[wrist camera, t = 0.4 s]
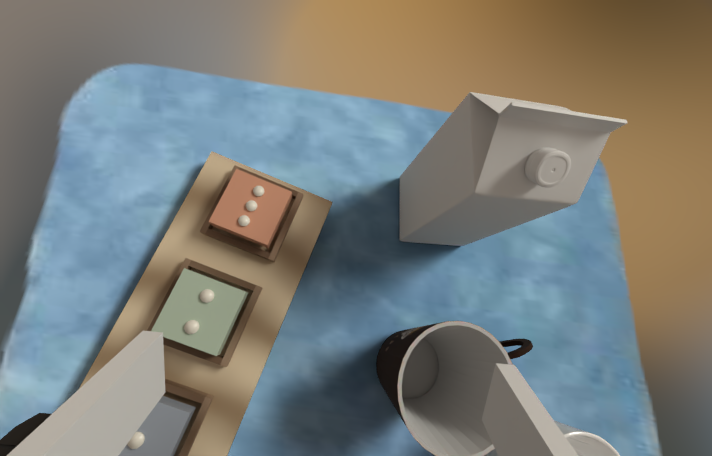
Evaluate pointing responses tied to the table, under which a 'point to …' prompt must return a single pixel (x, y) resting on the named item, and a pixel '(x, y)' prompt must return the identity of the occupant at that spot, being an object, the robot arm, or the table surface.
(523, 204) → the milk carton
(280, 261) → the keypad board
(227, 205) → the key three dots
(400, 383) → the coffee mug
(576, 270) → the table surface
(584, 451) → the white cup
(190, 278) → the key two dots
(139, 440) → the key one dot
